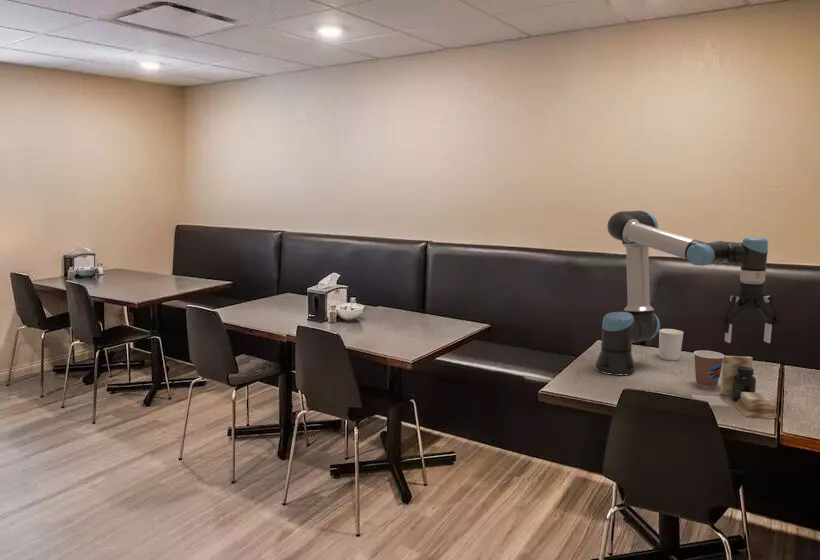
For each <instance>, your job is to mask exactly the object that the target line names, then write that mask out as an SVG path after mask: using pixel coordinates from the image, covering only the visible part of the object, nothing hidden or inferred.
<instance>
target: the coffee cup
mask: <svg viewBox="0 0 820 560" xmlns="http://www.w3.org/2000/svg"><path fill="white" fill-rule="evenodd" d="M693 354H694V369H695V371H694V372H695V381H696V382H695V383H696V385H698V386H700V387H702V388H710V389H711V388H713V389H714V388H717V386H718V383H719V379H720V376H721V373H722V372H721V371H722V368H723V361H724V356H725V354H723V353H721V352H717V351H712V350H695V351H693Z"/></svg>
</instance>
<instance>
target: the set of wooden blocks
mask: <svg viewBox="0 0 820 560" xmlns="http://www.w3.org/2000/svg"><path fill="white" fill-rule="evenodd" d="M738 367H750V368H753V357H752V356H741V355H740V356H739V355H724V358H723V362H722V372H721V383H720V384H721V387H720V394H721V395H727V396H728V395H729V396H732V391H733V380H734V376H735V375H736V374H738V373H737V371H738ZM736 407H737V408H738V409H739V410H740V411H739V410H738V409H737V408H736ZM735 408H736V409H737V410H738V411H739V412H740V413H741V414H743V415H744V416H745V417H746V416H749V417H748V418H758V417H765V418H764V419H772V418H771V417H774V418H776V419H777V416H778V414H777V413H776V404H775V403H773V402H772V400H771V399H770V398H769V397H767V396H766V395H765V394H763V392H755V393H752V392H741V399H738V403H737V402H735ZM774 418H773V419H774Z"/></svg>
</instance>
